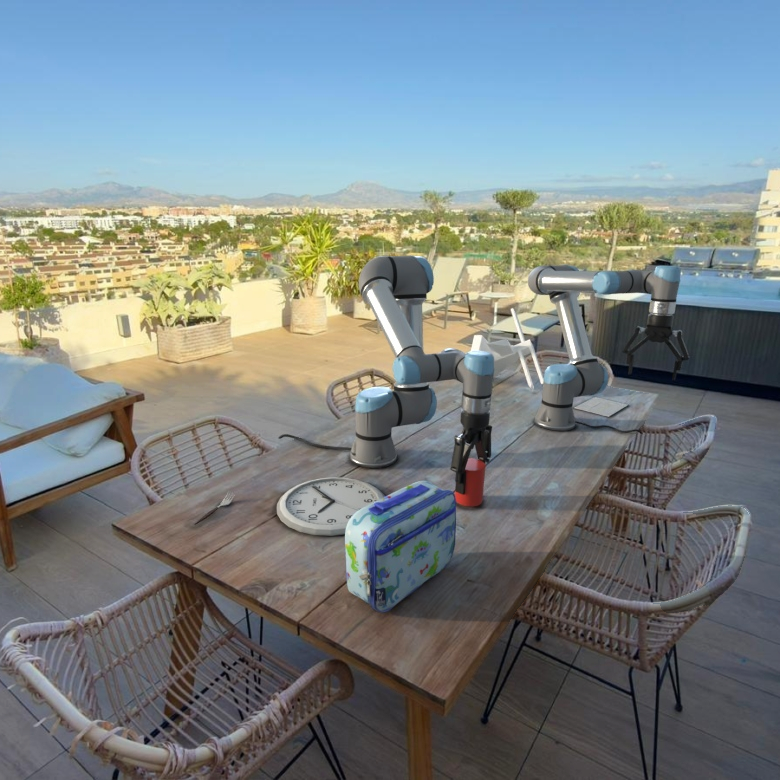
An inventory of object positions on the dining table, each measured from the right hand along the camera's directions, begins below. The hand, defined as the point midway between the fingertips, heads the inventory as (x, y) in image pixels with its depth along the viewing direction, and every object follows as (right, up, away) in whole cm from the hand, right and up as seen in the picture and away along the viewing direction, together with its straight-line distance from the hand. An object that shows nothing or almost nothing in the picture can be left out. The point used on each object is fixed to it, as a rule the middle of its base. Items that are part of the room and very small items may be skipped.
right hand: (651, 376), depth 178 cm
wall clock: (-105, -36, -35) cm, 116 cm away
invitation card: (+3, -12, +48) cm, 50 cm away
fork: (-135, -37, -39) cm, 146 cm away
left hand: (-67, -32, -33) cm, 81 cm away
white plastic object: (-36, -3, +76) cm, 84 cm away
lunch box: (-86, -46, -66) cm, 118 cm away
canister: (-67, -35, -32) cm, 82 cm away
